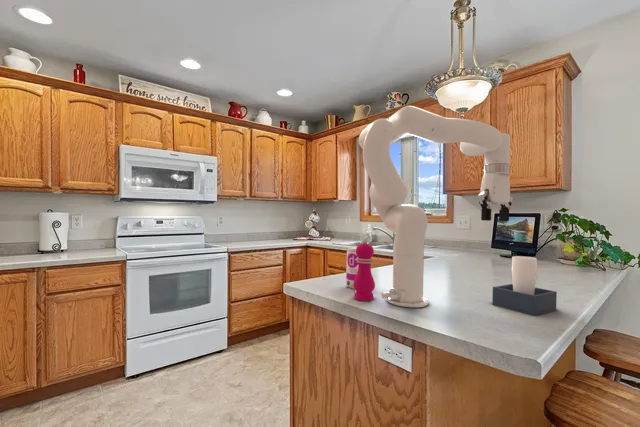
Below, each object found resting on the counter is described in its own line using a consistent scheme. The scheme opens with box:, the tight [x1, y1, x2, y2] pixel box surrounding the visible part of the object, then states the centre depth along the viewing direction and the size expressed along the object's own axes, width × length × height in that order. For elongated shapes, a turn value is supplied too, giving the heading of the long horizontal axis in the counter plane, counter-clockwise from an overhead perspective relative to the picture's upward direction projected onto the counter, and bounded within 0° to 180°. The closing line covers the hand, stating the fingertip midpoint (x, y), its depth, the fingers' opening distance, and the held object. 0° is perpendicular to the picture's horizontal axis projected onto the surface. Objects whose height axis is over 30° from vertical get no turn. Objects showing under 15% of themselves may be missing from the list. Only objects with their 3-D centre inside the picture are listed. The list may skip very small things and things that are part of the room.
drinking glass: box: [511, 255, 538, 295], centre depth 99 cm, size 7×7×15 cm
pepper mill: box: [353, 238, 376, 302], centre depth 106 cm, size 7×7×20 cm
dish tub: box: [491, 283, 558, 316], centre depth 99 cm, size 13×13×6 cm
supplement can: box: [345, 246, 358, 289], centre depth 123 cm, size 8×8×15 cm
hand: (495, 220), depth 108 cm, fingers open, 9 cm apart
